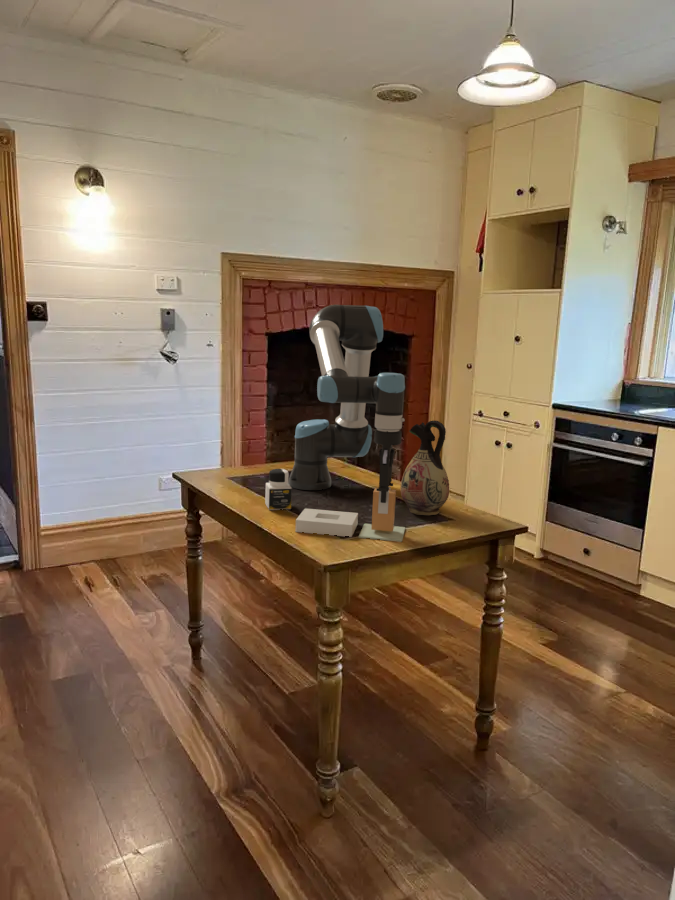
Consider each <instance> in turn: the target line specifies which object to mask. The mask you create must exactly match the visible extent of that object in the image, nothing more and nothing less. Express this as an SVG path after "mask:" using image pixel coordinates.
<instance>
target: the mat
mask: <svg viewBox="0 0 675 900" xmlns="http://www.w3.org/2000/svg"><path fill="white" fill-rule="evenodd" d="M371 529H372V523H364V524H363V526H362V529H361V530H360V532H359V535H358V539H366V538H370V539H369V540H377V539H380V540H379V541H389V542H391V541H392V542H398V543H402V542H403V539H404V535H405V531H406V527H405V526H396V525H394V529H393V531H382V530H371Z"/></svg>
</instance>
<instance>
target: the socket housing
mask: <svg viewBox="0 0 675 900" xmlns="http://www.w3.org/2000/svg"><path fill="white" fill-rule="evenodd" d="M358 519H359V513H358V512H351V511H350V512H349V511H340V510H339V511H336V510H327V509H326V510H325V509H317V508H316V509H315V508H307V507H305V508H304V509H303V510H302V511H301V513H300V514H299V515H298V517H297V518H296V519H295V533H302V532H304V533H305V534H313V533H317V534H316V535H324V534H329V535H328V536H334V535H337V536H336V537H345V536H349V537H348V538H352V537H353V535H354V533H355V530H356V529H357V526H358V525H359V524H358V521H359V520H358Z"/></svg>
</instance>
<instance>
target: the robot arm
mask: <svg viewBox="0 0 675 900" xmlns="http://www.w3.org/2000/svg"><path fill="white" fill-rule="evenodd" d="M308 329H309V330H308V331H309V338H310V340H311V342H312V344H313V345H314V347H315V350H316V354H317V360H318V364H319V368H320V373H321V376H318V379H317V383H316V384H317V385H316V386H317V387H316V388H317V389H316V391H317V392H316V393H317V398H318V400H319V401H320V402H322V403H330V404H336V403H338V404H340V413H339V415H338V416H336V417H335V420H334V421H335V422H334V423H333V424H332V423H330V422H329V420H328V419H310V420H304V421H301V422H299V423H298V424H297V425H296V427H295V435H294V461H293V462H294V463H293V467H292V469H291V472H290V475H289V477H288V484H289V485H290V486H291V488H292V489H297V490H303V491H304V490H305V491H321V490H322V489H323V490H327V489H329V488H331V486H332V478H331V473H330V470H329V468H328V457H329V458H358V457H359V458H361V457H362V458H363V457H365V456H366V455H367V454H368V453H369V451H370V448H371V445H372V439H373V441H374V443H375V444H377V445H381V446H382V448H380V450H379V453H378V456H379V476H378V477H379V478H378V479H379V481H378V482H379V483H378V488H377V491H379V503H378V513H381V514H388V502H389V489H390V490H392V489H391V487H394V483H392V481H393V480H392V474H393V465H394V458H395V451H396V449H394V448H393V446H398V445H401V444H402V437H403V436H402V435H403V432H402V430H401V429H403V428H402V427H403V422H405V418H404V417H403V414H404V401H405V399H404V398H405V390H406V383H405V381H406V380H405V375H404V374H402V373H397V372H380V373H379V374H378V375H375V376H370V375H369V374H370V367H371V357H372V352H373V351H376V349H377V344H379V343H381V342H382V341H383V338H384V321H383V315H382V313H381V310H380V309H379V308H378V307H376V306H372V305H371V306H369V305H359V304H358V305H355V304H354V305H353V304H329V305H328V306H325V307H323V308H321V309H320V310H319V311H317V312H316V313H315V315H314V316H313V317H312V320H311V321H310V324H309V327H308ZM340 341H341V343H340ZM341 346H342V347H343V349H344V350H345V356H344V354H343V351H342V347H341ZM366 404H375V416H374V428H375V429H374V437H372V435H373V430H372V426H371V425H370V424H369V421H368V420H367V419H366V417H365V413H366ZM323 490H322V491H323Z"/></svg>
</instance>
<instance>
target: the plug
mask: <svg viewBox="0 0 675 900" xmlns="http://www.w3.org/2000/svg"><path fill="white" fill-rule="evenodd" d="M377 489H378V488H376V487H375V488H374V490H373V492H372V493H373V494H372V510H371V511H372V512H371V514H372V515H371V524H372V529H371V530H382V531H393V529H394V526H395V514H396V497H397V496H396V495H397V490H396V489H391V490H390V489H389V502H388V514H381V513H378V503H379V491H377Z"/></svg>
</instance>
